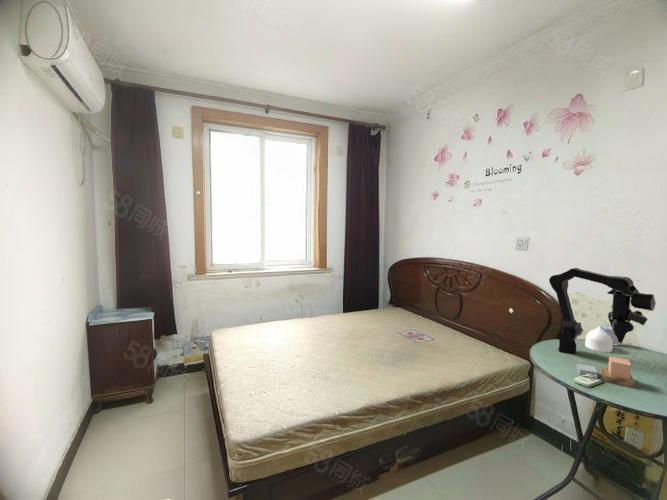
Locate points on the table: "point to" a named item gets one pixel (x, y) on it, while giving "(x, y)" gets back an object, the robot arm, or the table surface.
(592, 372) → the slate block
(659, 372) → the table surface
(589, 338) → the teardrop
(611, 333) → the medicine box
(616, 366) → the terracotta block
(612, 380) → the walnut block
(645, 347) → the table surface
